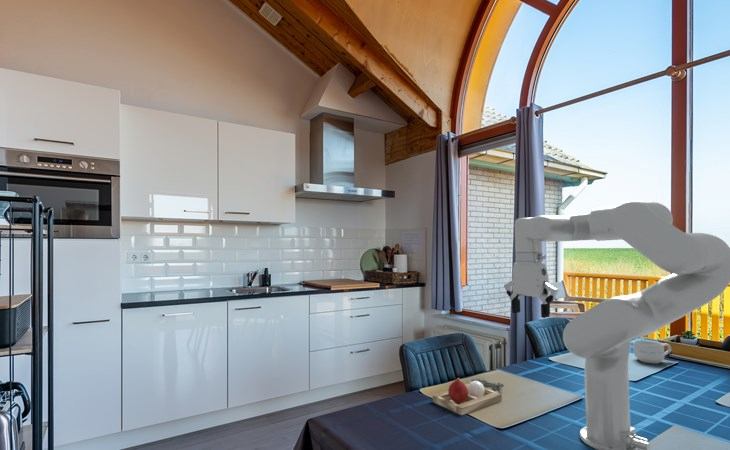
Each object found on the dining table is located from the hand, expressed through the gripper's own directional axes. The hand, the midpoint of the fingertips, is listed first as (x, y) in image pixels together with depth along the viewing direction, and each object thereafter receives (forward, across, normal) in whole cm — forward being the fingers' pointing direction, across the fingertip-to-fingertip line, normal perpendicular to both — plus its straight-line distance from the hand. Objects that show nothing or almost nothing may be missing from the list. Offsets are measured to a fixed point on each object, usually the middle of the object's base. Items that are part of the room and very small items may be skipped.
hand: (530, 314), depth 120 cm
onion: (+27, +14, +17) cm, 35 cm away
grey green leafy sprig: (+29, +18, 0) cm, 34 cm away
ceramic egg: (+27, +14, +9) cm, 32 cm away
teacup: (+29, -1, -83) cm, 88 cm away
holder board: (+28, +14, +13) cm, 34 cm away
